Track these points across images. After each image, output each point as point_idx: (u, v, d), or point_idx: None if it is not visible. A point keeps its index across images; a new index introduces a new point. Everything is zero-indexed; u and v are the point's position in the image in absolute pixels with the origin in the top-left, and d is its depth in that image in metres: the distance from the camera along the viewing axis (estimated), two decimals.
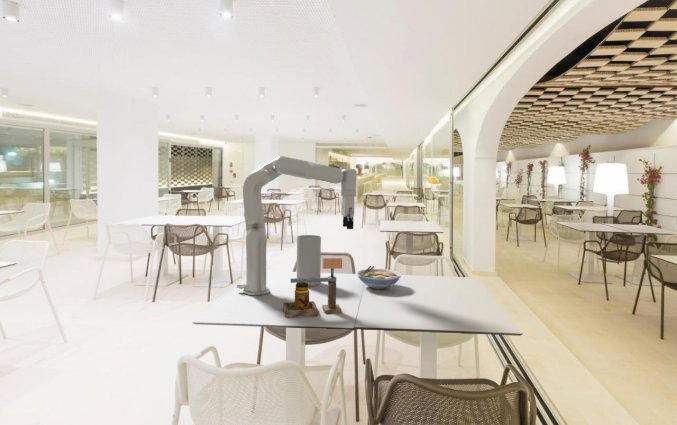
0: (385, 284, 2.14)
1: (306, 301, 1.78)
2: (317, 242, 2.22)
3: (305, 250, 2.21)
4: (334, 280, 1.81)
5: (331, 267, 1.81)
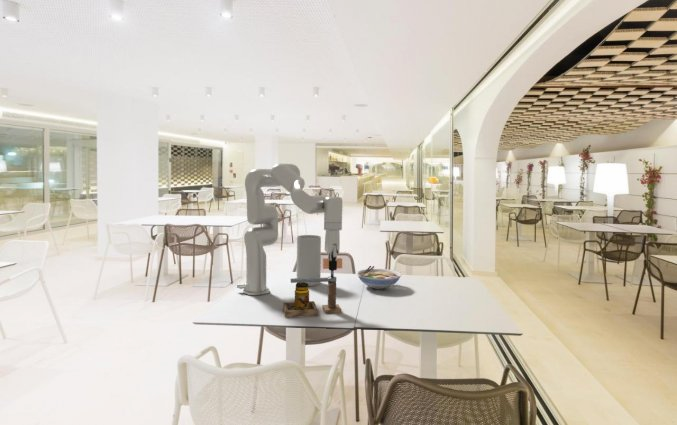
0: (385, 284, 2.14)
1: (306, 301, 1.78)
2: (317, 242, 2.22)
3: (305, 250, 2.21)
4: (334, 280, 1.81)
5: None
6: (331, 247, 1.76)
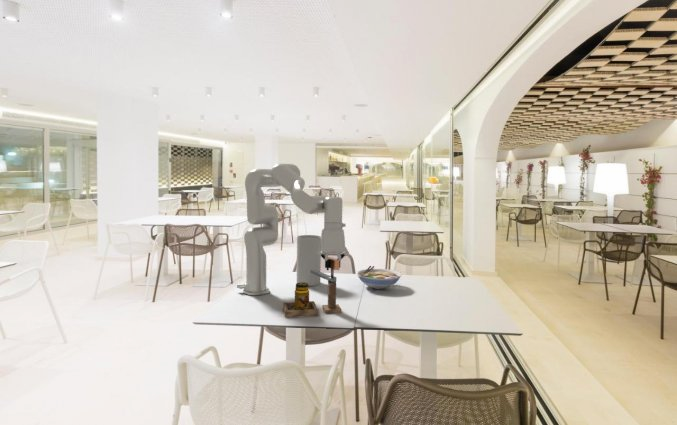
0: (385, 284, 2.14)
1: (306, 301, 1.78)
2: (317, 242, 2.22)
3: (305, 250, 2.21)
4: (329, 280, 1.81)
5: (329, 267, 1.82)
6: None
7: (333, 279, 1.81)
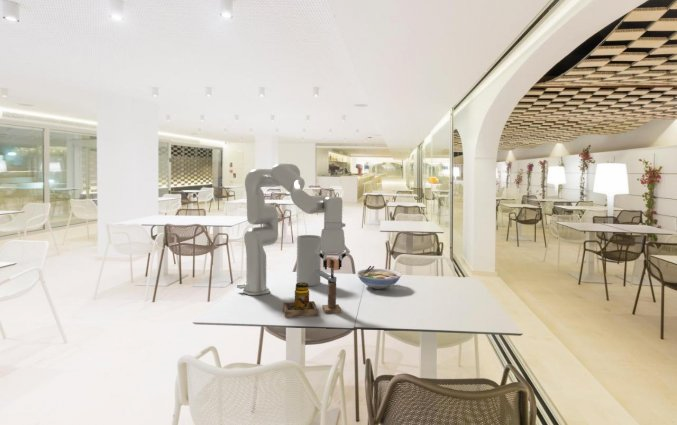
0: (385, 284, 2.14)
1: (306, 301, 1.78)
2: (317, 242, 2.22)
3: (305, 250, 2.21)
4: (329, 280, 1.82)
5: (329, 267, 1.83)
6: (320, 244, 1.82)
7: (333, 279, 1.81)
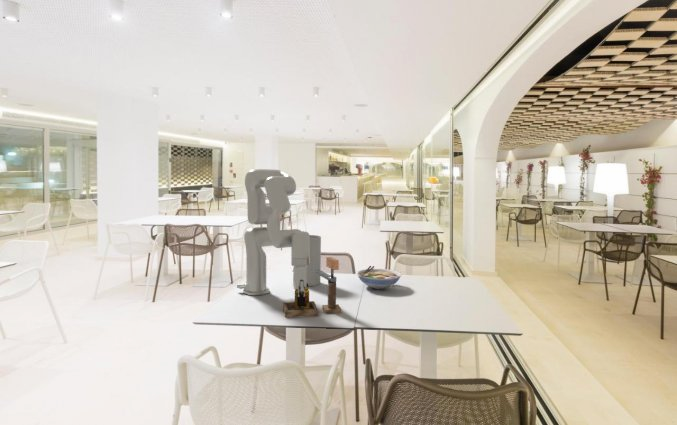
0: (385, 284, 2.14)
1: (306, 301, 1.78)
2: (317, 242, 2.22)
3: None
4: (329, 280, 1.82)
5: (329, 267, 1.83)
6: (298, 283, 1.75)
7: (333, 279, 1.81)
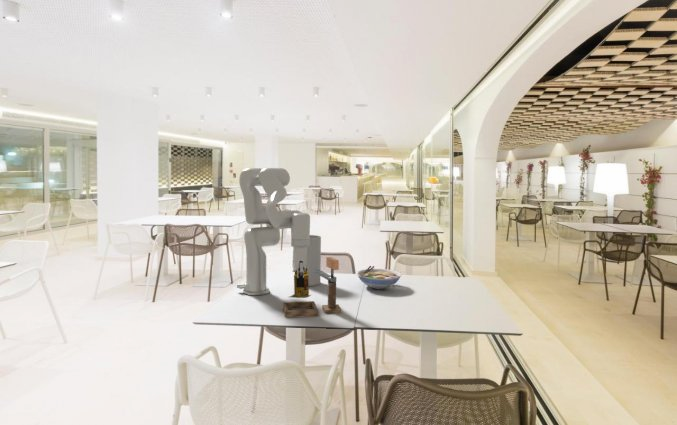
0: (385, 284, 2.14)
1: (305, 284, 1.79)
2: (317, 242, 2.22)
3: None
4: (329, 280, 1.82)
5: (329, 267, 1.83)
6: (297, 264, 1.75)
7: (333, 279, 1.81)
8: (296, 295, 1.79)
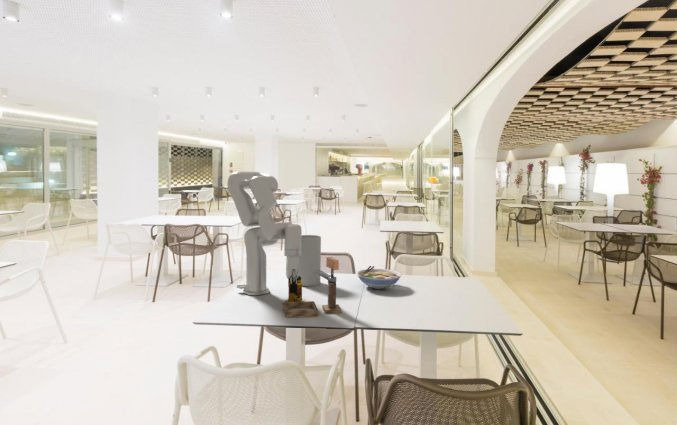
0: (385, 284, 2.14)
1: (299, 293, 1.91)
2: (317, 242, 2.22)
3: (305, 250, 2.21)
4: (329, 280, 1.82)
5: (329, 267, 1.83)
6: (290, 272, 1.88)
7: (333, 279, 1.81)
8: None
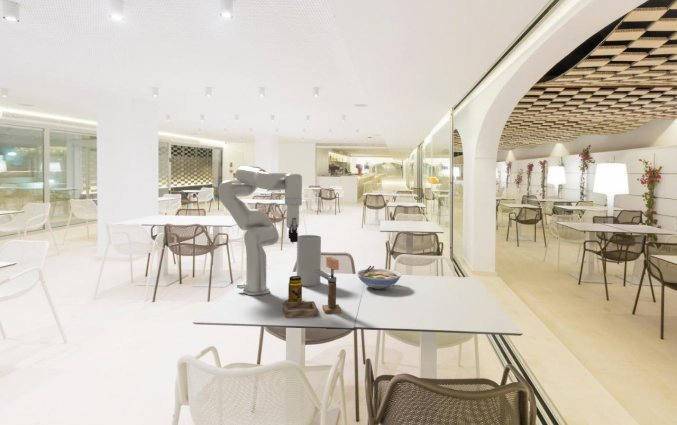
0: (385, 284, 2.14)
1: (298, 293, 1.91)
2: (317, 242, 2.22)
3: (305, 250, 2.21)
4: (329, 280, 1.82)
5: (329, 267, 1.83)
6: (290, 221, 1.86)
7: (333, 279, 1.81)
8: None
